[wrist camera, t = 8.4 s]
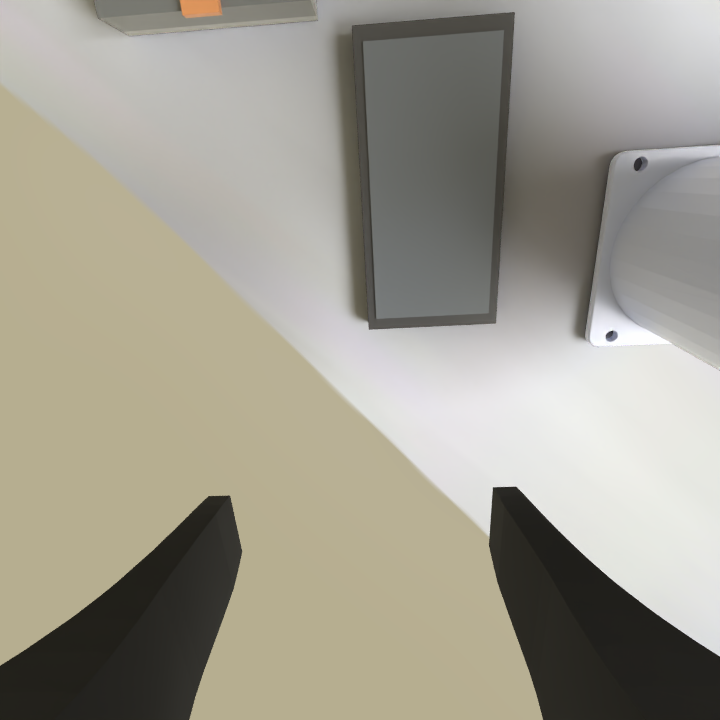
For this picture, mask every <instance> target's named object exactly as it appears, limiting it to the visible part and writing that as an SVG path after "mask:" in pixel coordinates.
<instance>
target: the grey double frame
mask: <svg viewBox="0 0 720 720" xmlns="http://www.w3.org/2000/svg"><path fill="white" fill-rule="evenodd" d="M94 3H95V8H96V12H97V16H98V18H99V19H100V20H102V21H104V22H106V23H107V24H109V25H111V26H113V27H114V28H116V29H118V30H120V31H121V32H123V33H125V34H127V35H128V36H135V35H147V34H160V33H172V32H184V31H196V30H208V29H220V28H232V27H244V26H256V25H268V24H280V23H292V22H304V21H316V20H318V17H317V4H316V0H94Z"/></svg>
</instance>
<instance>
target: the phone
mask: <svg viewBox="0 0 720 720" xmlns="http://www.w3.org/2000/svg"><path fill="white" fill-rule="evenodd" d="M514 15H515V12H512V13H500V14H488V15H475V16H463V17H451V18H439V19H427V20H415V21H402V22H390V23H378V24H366V25H354V26H352V34H353V52H354V70H355V88H356V106H357V124H358V142H359V160H360V178H361V196H362V214H363V232H364V250H365V268H366V286H367V304H368V322H369V329H390V328H410V327H431V326H452V325H472V324H493V323H496V311H497V294H498V278H499V262H500V245H501V229H502V212H503V196H504V180H505V163H506V147H507V130H508V114H509V97H510V81H511V65H512V48H513V32H514Z"/></svg>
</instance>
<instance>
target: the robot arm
mask: <svg viewBox="0 0 720 720" xmlns="http://www.w3.org/2000/svg"><path fill="white" fill-rule="evenodd" d="M637 158H640V159H641V160H642V166H641V168H640V169H639V170H638V171H636V170H635V169H634V162H635V160H636V159H637ZM612 330H613V335H612V336H611V337H610V338H608V339H606V334H607V333H608V332H609V331H612ZM585 338H586V340H587V342H588V343H590V344H591V345H593V346H596V347H605V346H626V345H648V344H670V343H671V344H673V345H675V346H677V347H679V348H680V349H682V350H684V351H686V352H687V353H689V354H691V355H693V356H695V357H696V358H698V359H700V360H702V361H703V362H705V363H707V364H709V365H711V366H712V367H714V368H716V369H718V370H719V371H720V145H708V146H693V147H678V148H662V149H647V150H632V151H623V152H620V153H618V154H617V155H615V156H614V158H613V159H612V160H611V163H610V166H609V173H608V180H607V187H606V194H605V201H604V208H603V215H602V222H601V229H600V236H599V243H598V250H597V257H596V263H595V270H594V277H593V284H592V291H591V298H590V305H589V312H588V319H587V326H586V333H585ZM489 547H490V552H491V556H492V561H493V565H494V569H495V573H496V578H497V582H498V585H499V588H500V591H501V594H502V597H503V599H504V602H505V605H506V608H507V610H508V614H509V616H510V619H511V622H512V625H513V627H514V630H515V633H516V636H517V639H518V641H519V644H520V647H521V650H522V652H523V655H524V658H525V661H526V664H527V666H528V669H529V672H530V675H531V678H532V681H533V685H534V688H535V691H536V694H537V698H538V701H539V706H540V709H541V713H542V717H543V720H720V656H718V655H716V654H715V653H713V652H712V651H710V650H709V649H707V648H705V647H704V646H702V645H701V644H699V643H698V642H696V641H695V640H693V639H692V638H690V637H689V636H687V635H686V634H684V633H683V632H681V631H680V630H678V629H677V628H675V627H674V626H673V625H671V624H670V623H668V622H667V621H665V620H664V619H662V618H661V617H660V616H658V615H657V614H655V613H654V612H653V611H651V610H650V609H649V608H647V607H646V606H645V605H643V604H642V603H641V602H639V601H638V600H637V599H636V598H634V597H633V596H632V595H630V594H629V593H628V592H626V591H625V590H624V589H623V588H621V587H620V586H619V585H618V584H616V583H615V582H614V581H613V580H611V579H610V578H609V577H608V576H607V575H606V574H604V573H603V572H602V571H601V570H600V569H599V568H598V567H596V566H595V565H594V564H593V563H592V562H591V561H590V560H589V559H587V558H586V557H585V556H584V555H583V554H582V553H581V552H580V551H579V550H578V549H577V548H576V547H575V546H574V545H573V544H572V543H571V542H570V541H568V540H567V539H566V538H565V537H564V536H563V535H562V534H561V533H560V532H559V531H558V530H557V529H556V528H555V527H554V526H553V525H552V524H551V523H550V522H549V521H548V520H547V519H546V517H545V516H544V515H543V514H542V513H541V512H540V511H539V510H538V509H537V508H536V507H535V506H534V505H533V504H532V503H531V502H530V501H529V500H528V498H527V497H526V496H525V495H524V494H523V493H522V492H521V491H520V490H519V489H518V488H517V487H493V496H492V510H491V525H490V539H489ZM241 554H242V549H241V544H240V539H239V535H238V531H237V526H236V522H235V516H234V512H233V507H232V503H231V498H230V496H208V498H206V499H205V500H204V501H203V502H202V503H201V504H200V505H199V506H198V507H197V508H196V509H195V510H194V511H193V512H192V513H191V514H190V515H189V516H188V517H187V518H186V519H185V520H184V521H183V522H182V523H181V524H180V525H179V526H178V527H177V528H176V529H175V530H174V531H173V532H172V533H171V534H170V535H169V536H167V537H166V538H165V539H164V540H163V541H162V542H161V543H160V544H159V545H158V546H157V547H156V548H155V549H154V550H153V551H152V552H151V553H150V554H148V555H147V556H146V557H145V558H144V559H143V560H142V561H141V562H139V563H138V564H137V565H136V566H135V567H134V568H133V569H132V570H130V571H129V572H128V573H127V574H126V575H125V576H124V577H123V578H121V579H120V580H119V581H118V582H117V583H116V584H115V585H113V586H112V587H111V588H110V589H109V590H107V591H106V592H105V593H103V594H102V595H101V596H100V597H98V598H97V599H96V600H95V601H93V602H92V603H91V604H89V605H88V606H87V607H85V608H84V609H83V610H81V611H80V612H79V613H78V614H76V615H75V616H74V617H72V618H71V619H69V620H68V621H67V622H65V623H64V624H62V625H61V626H59V627H58V628H56V629H55V630H53V631H52V632H51V633H49V634H48V635H46V636H45V637H43V638H42V639H41V640H39V641H38V642H36V643H35V644H33V645H32V646H30V647H29V648H27V649H26V650H24V651H23V652H21V653H20V654H18V655H17V656H15V657H13V658H12V659H10V660H9V661H7V662H5V663H4V664H2V665H1V666H0V720H189V718H190V714H191V711H192V707H193V704H194V700H195V696H196V693H197V690H198V686H199V684H200V681H201V678H202V675H203V672H204V669H205V666H206V664H207V661H208V658H209V655H210V653H211V650H212V647H213V644H214V642H215V639H216V636H217V633H218V631H219V628H220V625H221V623H222V620H223V617H224V614H225V611H226V609H227V606H228V603H229V600H230V597H231V594H232V592H233V589H234V585H235V581H236V577H237V572H238V568H239V564H240V559H241Z"/></svg>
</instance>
